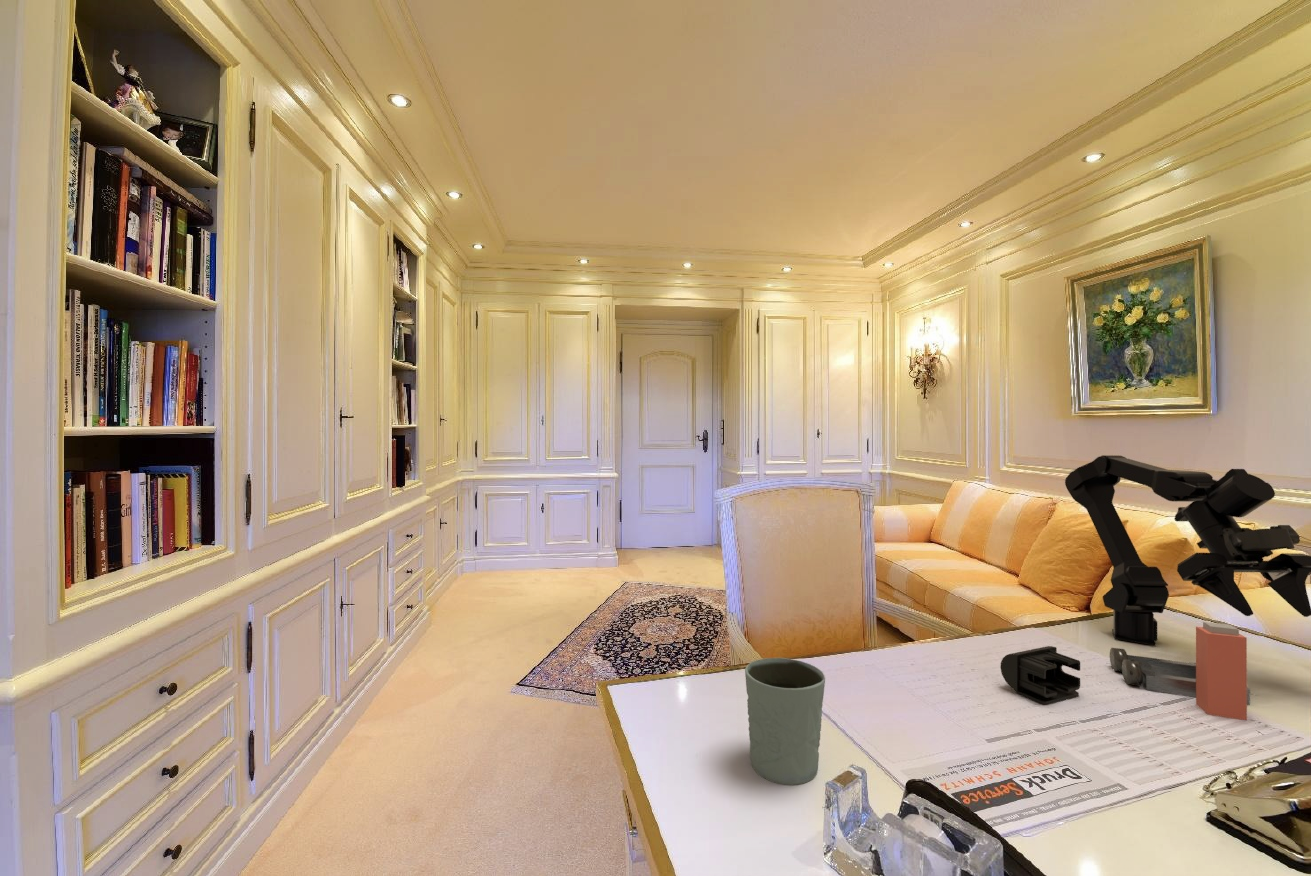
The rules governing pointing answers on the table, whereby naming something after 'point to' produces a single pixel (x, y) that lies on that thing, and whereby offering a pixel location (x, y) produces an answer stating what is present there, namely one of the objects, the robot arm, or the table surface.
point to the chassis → (1157, 673)
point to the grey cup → (784, 718)
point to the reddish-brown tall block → (1221, 670)
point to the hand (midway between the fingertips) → (1279, 615)
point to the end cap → (1041, 675)
